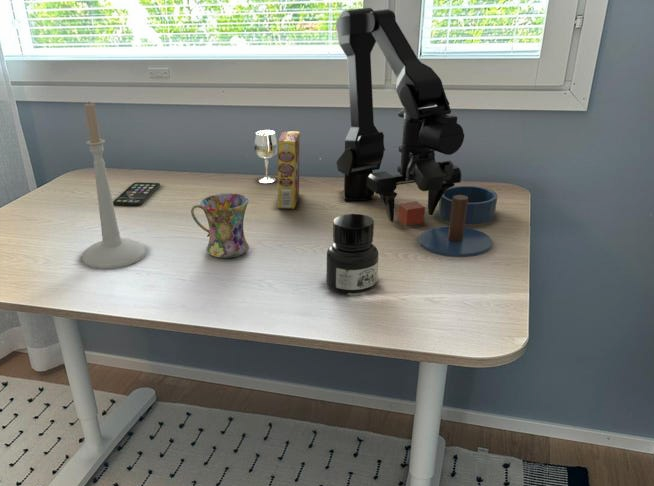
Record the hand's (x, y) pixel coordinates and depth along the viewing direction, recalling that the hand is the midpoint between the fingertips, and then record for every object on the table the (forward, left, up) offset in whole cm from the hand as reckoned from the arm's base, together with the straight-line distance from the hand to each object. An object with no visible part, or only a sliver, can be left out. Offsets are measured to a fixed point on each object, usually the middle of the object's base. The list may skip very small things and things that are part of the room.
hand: (410, 218), depth 144 cm
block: (0, 0, -1) cm, 1 cm away
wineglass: (-32, +32, -1) cm, 45 cm away
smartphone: (-64, +23, -1) cm, 68 cm away
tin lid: (+7, -12, -1) cm, 14 cm away
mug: (-39, -13, -1) cm, 41 cm away
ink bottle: (-14, -29, -1) cm, 32 cm away
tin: (+12, +3, -1) cm, 12 cm away
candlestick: (-61, -14, -1) cm, 63 cm away
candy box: (-26, +15, -1) cm, 30 cm away
